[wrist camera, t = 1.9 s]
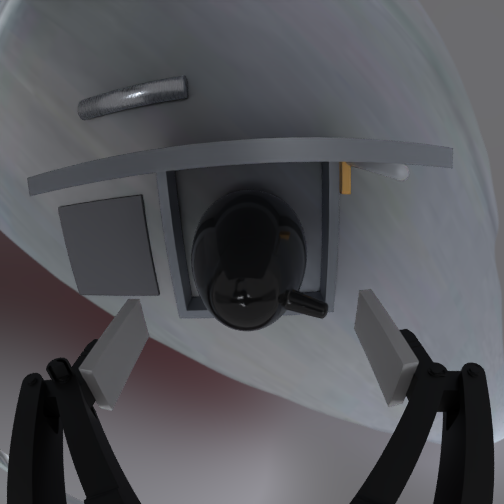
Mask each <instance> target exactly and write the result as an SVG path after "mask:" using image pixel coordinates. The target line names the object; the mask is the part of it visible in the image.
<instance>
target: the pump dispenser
mask: <svg viewBox="0 0 504 504" xmlns="http://www.w3.org/2000/svg"><path fill="white" fill-rule="evenodd" d="M306 262H307V247H306V238H305V234H304V230H303V227H302V224H301V222H300V220H299V218H298V217H297V215H296V213H295V212H294V211H293V210H292V208H291V207H290V206H289V205H288V204H287V203H285V202H284V201H283V200H281V199H280V198H278V197H276V196H275V195H272V194H270V193H267V192H263V191H258V190H241V191H236V192H233V193H230V194H227V195H225V196H223V197H221V198H220V199H218V200H217V201H216V202H214V203H213V204H212V205H211V206H210V207H209V208H208V209H207V211H206V212H205V213H204V215H203V216H202V218H201V220H200V221H199V223H198V226H197V228H196V231H195V235H194V239H193V245H192V253H191V263H192V272H193V277H194V281H195V284H196V288H197V290H198V293H199V295H200V297H201V299H202V301H203V303H204V305H205V307H206V308H207V310H208V311H209V312H210V313H211V315H212V316H213V317H214V318H215V319H217V320H218V321H219V322H220V323H222V324H223V325H225V326H227V327H229V328H232V329H235V330H239V331H255V330H259V329H262V328H265V327H267V326H269V325H271V324H272V323H274V322H275V321H277V320H278V319H279V318H280V317H281V316H282V315H283V314H284V313H285V312H286V311H287V310H289V311H293V312H297V313H301V314H305V315H309V316H313V317H317V318H321V319H322V318H324V317H325V316H326V315H327V312H328V308H329V307H328V304H327V303H326V302H323V301H321V300H318V299H316V298H314V297H311V296H309V295H306V294H304V293H302V292H299V289H300V287H301V284H302V281H303V278H304V274H305V270H306Z"/></svg>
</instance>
